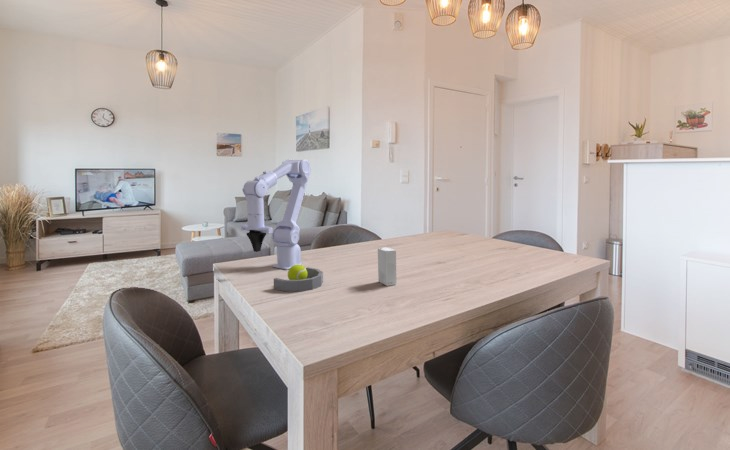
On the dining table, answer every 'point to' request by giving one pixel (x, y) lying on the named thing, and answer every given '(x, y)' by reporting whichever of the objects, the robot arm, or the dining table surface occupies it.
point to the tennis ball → (297, 272)
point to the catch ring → (301, 282)
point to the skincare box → (387, 266)
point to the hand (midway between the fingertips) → (257, 251)
